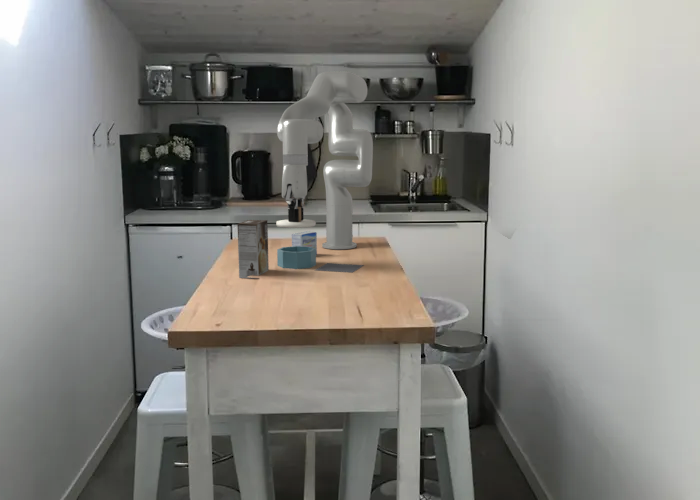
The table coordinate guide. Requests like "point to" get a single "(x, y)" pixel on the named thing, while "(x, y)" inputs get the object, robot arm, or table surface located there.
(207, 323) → the table surface
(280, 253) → the pot
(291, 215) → the robot arm
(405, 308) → the table surface
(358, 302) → the table surface
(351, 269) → the mat
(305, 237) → the medicine box
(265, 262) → the coffee box
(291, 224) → the lid
